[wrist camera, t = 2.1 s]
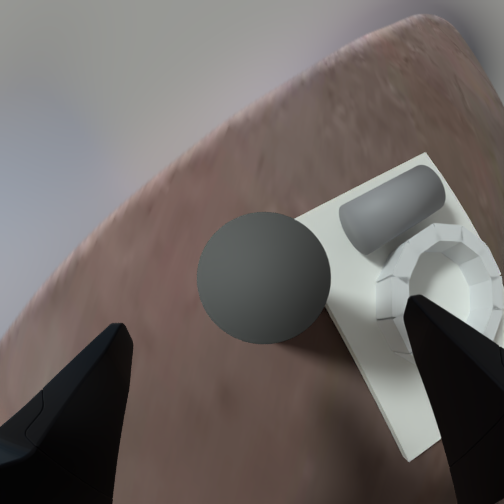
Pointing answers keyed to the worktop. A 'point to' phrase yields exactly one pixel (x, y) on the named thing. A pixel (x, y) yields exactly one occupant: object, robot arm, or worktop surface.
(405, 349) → the white socket base plate
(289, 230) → the crank handle
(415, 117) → the worktop surface
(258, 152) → the worktop surface
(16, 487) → the robot arm
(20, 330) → the worktop surface
